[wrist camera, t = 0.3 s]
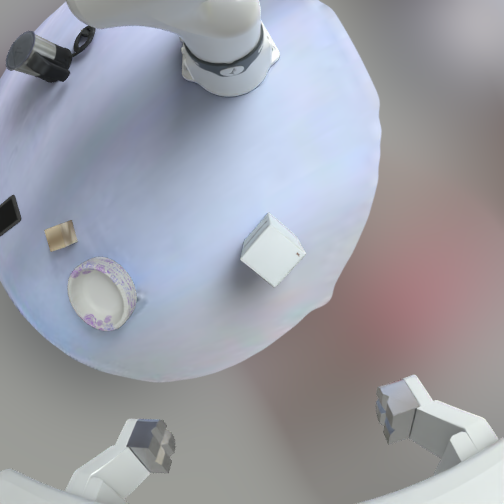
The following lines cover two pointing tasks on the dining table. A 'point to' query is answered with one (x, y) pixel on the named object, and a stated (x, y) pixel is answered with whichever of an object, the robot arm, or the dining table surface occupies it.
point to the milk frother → (44, 55)
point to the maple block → (61, 236)
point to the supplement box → (272, 250)
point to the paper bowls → (102, 293)
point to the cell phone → (9, 214)
